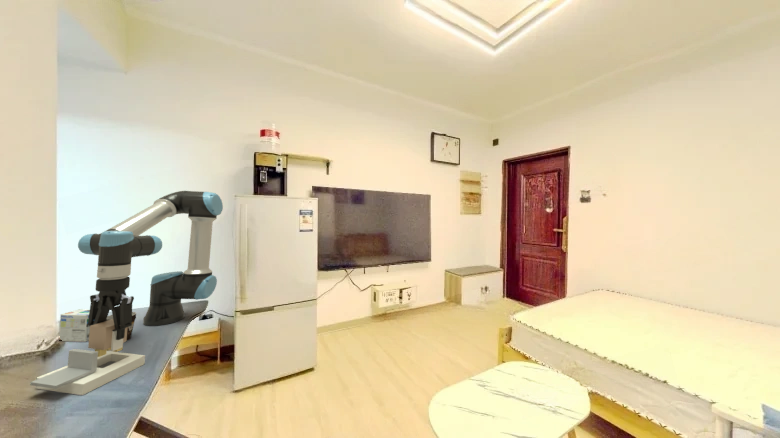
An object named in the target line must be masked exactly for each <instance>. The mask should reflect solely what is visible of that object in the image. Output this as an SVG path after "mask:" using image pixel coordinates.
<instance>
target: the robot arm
mask: <svg viewBox="0 0 780 438" xmlns="http://www.w3.org/2000/svg"><path fill="white" fill-rule="evenodd" d="M223 207H224V206H223V200H222V199H221V197H220V196H219V194H217V193H216V192H211V191H210V192H209V191H195V190H194V191H193V190H178V191H175V192H171V193H169V194H166V195H164V196H161V197H160V198H158V199H156V200H154V201H153V204H152V205H150V206H148V207H146V208H144V209H143V210H141V211H139V212H137V213H135V214H134V215H132V216H130V217H128V218H126V219H124V220H122V221H120V222H119V223H116V224H115V225H114V226H112V227H110V228H108V229H106V230H104V231H102V232H100V233H88V234H85V235H83V236H82V237H81V238H79V240H78V244H77V247H78V249H79V251H80V252H81V253H83V254H84V255H94V256H98V257H97V259H98V260H97V270H96V271H97V272H96V278H97V279H96V280H95V291H96V292H99V293H97V294H92V295H91V294H90V296H89V300H90V306H89V310H90V312H89V319H88V325H89V326H90V325H95V324H98V323H101V322H105V321H106V319H107V316H109V313H110V311H111V315H113V320H114V326H115V329H114V330H112V343H111V350H110V351H115V350H117V349H120V348H122V347H123V348H124V343H123V338H124V335H125V328H126V327H129V326H131V325H132V312H133V303H134V300H135V297H134V296H133V295H131V296H127V292H126V290H127V289H128V288H130V281H131V277H130V275H131V273H132V272H131V270H132V258H138V257H145V256H147V257H149V256H152V255H156V254H157V253H160V251H161V250H162V248H163V242H162V239H161V238H160V237H158V236H156V235H148V234H147V235H142V234H143V233H145V232H147V231H148V230H150V229H151V228H153V227H154V226H156V225H157V224H160V223H161V222H162V221H163V220H165V219H167V218H171V217H174V216H176V215H181V214H188V218H189V220H190V221H191V226H190V238H189V249H188V250H189V251H188V259H187V269H186V270H184V271H170V272H164V273H158V274H156V275H153V276H152V278H151V281H150V293H149V304H148V305H149V306H148V309H147V311H146V312H145V313H146V314H145V315H144V317H143V320H142V324H143V325H145V326H149V327H150V326H154V327H155V326H162V325H168V324H172V323H173V324H174V323H176V322H179V321H181V320H182V319H184V318H185V311H184V308H183V304H182V300H205V299H208V298H209V297H211V296H212V294H213V292H214V291H215V290H216V287H217V283H218V280H217V276H216V275H214V274H213V270H212V269H211V268H210V258H211V249H212V248H211V245H212V234H213V233H212V232H213V222H214V221H216V220H217V216H219V215H221V214H222V212H223V210H224V209H223ZM93 320H94V321H93Z"/></svg>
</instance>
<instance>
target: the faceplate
mask: <svg viewBox="0 0 780 438" xmlns="http://www.w3.org/2000/svg"><path fill="white" fill-rule="evenodd" d="M145 361H146V355H145V354H144V355H143V354H137V353H129V352H128V353H127V352H120V351H118V352H113V351H111V350H109V351H106V354H105V355H103V356H100V357H97V370H96V371H95V372H93V373H91V374H88V375H86V376H84V377H82V378H79V379H77V380H75V381H73V382H70V383H68V384H66V385H64V386H61V387H59V388H57V389H54V388H47V387H40V386H34V389H36V390H38V389H39V390H42V391H44V390H45V391H51V392H56V393H64V394H65V393H66V394H72V395H78V396H84V395H85V394H88V393H89V392H92V391H94V390H96V389H98V388H100V387H102V386H104V385H105V384H109V383H110V382H112V381H114V380H115V379H118V378H120V377H121V376H124V375H126V374H128V373H130V372H131V371H132V372H133V371H134V370H135V369H138V368H140V367H142V366H143V365H145V363H146V362H145ZM67 367H68V364H67V365H65V366H63V367H60V368H57V369H55V370H53V371H50V372H48V373H45V374H42V375H39V376H37V377H35V380H37V379H40V378H42V377H45V376H47V375H50V374H52V373H55V372H57V371H60V370H62V369H65V368H67Z"/></svg>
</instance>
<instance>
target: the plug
mask: <svg viewBox="0 0 780 438" xmlns="http://www.w3.org/2000/svg"><path fill="white" fill-rule="evenodd" d="M114 329H115V326H114V320H113V319H111V320H108V321H105V322H101V323H98V324H95V325H91V326H90V332H89V341H88V345H87V348H88V349H92V350H94V351H97V352H98V357H100V356H103V355H105V354H106V351H111V343H112V330H114ZM127 329H128V327H126V328H125V335H124V338H123V344H124V343H125V342H127ZM123 348H124V346H123V347H122V348H120V349H117V350H115V351H113V352H120V351H123Z"/></svg>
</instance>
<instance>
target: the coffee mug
mask: <svg viewBox="0 0 780 438" xmlns="http://www.w3.org/2000/svg"><path fill="white" fill-rule="evenodd" d="M111 319H113V315H112V314H110V315H108V316H107V319H106V321H108V320H111ZM136 319H137V312H136V311H132V325H131V326H129V327H128V329H127V341H130V340H131V338H132V334H133V329H134V326H135V320H136ZM127 341H126V342H127Z"/></svg>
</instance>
